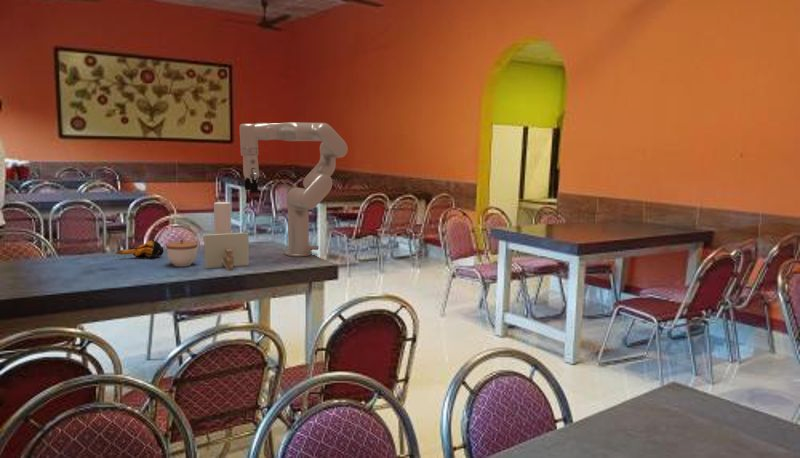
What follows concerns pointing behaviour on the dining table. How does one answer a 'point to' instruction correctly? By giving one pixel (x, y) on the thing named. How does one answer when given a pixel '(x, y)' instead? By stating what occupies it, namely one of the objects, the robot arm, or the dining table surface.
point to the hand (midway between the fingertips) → (251, 190)
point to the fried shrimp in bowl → (145, 250)
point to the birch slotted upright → (228, 259)
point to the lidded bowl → (181, 252)
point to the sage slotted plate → (220, 242)
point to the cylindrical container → (222, 217)
